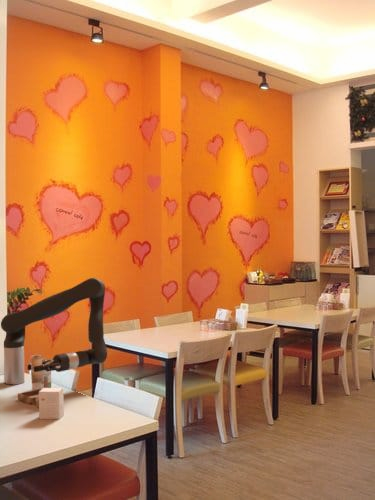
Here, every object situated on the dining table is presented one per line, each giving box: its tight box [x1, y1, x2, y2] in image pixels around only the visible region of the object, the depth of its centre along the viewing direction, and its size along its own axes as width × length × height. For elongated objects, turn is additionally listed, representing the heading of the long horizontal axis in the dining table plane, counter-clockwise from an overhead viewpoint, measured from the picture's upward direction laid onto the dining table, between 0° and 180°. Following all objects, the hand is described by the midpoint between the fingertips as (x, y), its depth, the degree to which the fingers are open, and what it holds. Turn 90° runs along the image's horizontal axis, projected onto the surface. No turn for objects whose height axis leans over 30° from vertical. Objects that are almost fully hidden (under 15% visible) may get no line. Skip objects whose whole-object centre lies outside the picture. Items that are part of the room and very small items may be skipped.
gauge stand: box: [35, 376, 48, 408], centre depth 229 cm, size 6×6×12 cm
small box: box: [38, 387, 65, 420], centre depth 215 cm, size 8×6×10 cm
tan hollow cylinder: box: [30, 354, 43, 384], centre depth 239 cm, size 5×5×11 cm
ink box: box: [31, 370, 52, 391], centre depth 256 cm, size 9×5×12 cm, turn 160°
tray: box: [17, 389, 42, 406], centre depth 239 cm, size 11×11×2 cm
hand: (31, 368), depth 237 cm, fingers closed on tan hollow cylinder, 4 cm apart
